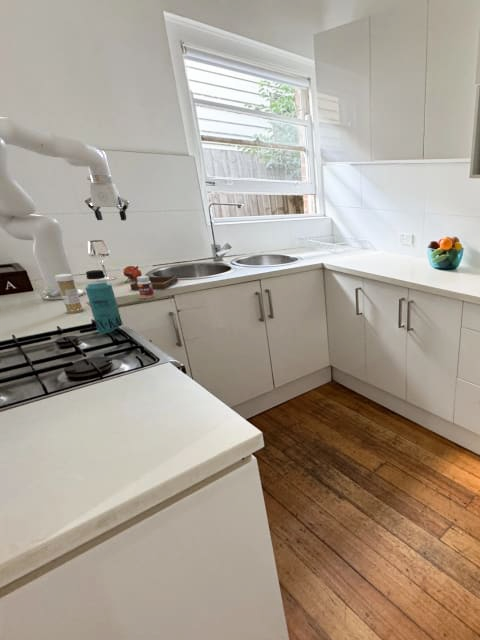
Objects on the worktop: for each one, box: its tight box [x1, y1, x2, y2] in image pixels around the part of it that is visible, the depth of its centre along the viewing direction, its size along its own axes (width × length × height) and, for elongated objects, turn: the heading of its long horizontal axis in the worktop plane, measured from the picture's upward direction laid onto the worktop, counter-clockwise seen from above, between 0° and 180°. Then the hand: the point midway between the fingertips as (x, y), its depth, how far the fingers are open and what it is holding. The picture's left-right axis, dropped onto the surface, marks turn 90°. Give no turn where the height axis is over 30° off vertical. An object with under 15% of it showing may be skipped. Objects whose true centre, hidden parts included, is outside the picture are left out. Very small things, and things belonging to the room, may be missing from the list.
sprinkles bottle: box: [55, 274, 84, 314], centre depth 135 cm, size 5×5×14 cm
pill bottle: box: [136, 275, 155, 299], centre depth 155 cm, size 5×5×8 cm
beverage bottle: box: [84, 269, 124, 334], centre depth 114 cm, size 6×7×20 cm
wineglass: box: [87, 239, 116, 281], centre depth 181 cm, size 8×8×18 cm
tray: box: [129, 276, 179, 291], centre depth 174 cm, size 15×13×2 cm
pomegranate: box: [122, 265, 143, 283], centre depth 181 cm, size 7×7×10 cm
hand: (112, 220), depth 176 cm, fingers open, 9 cm apart
